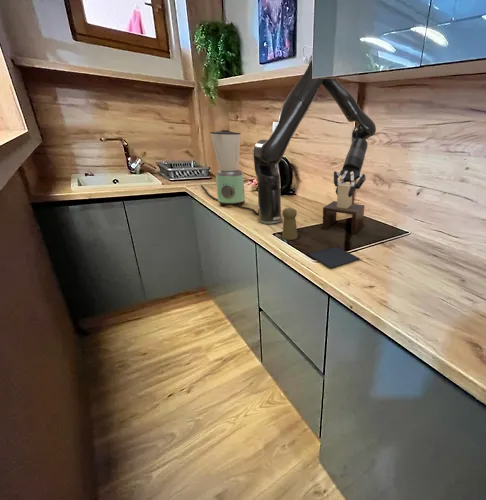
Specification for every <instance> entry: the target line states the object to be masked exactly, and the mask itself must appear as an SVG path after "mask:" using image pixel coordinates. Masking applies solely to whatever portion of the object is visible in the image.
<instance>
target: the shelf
mask: <svg viewBox="0 0 486 500" xmlns="http://www.w3.org/2000/svg"><path fill="white" fill-rule="evenodd" d="M337 213H338V214H346V215H351V224H350V225H351V227H350V234H353V235H355V234H356V233H357V232H359V230H360V229H361V228H362V227H363V226H364V215H365V205H364V204H357V203H352V205H351V206H350V207H349V208H347V209H345V208H338V207H337V200H336V201H335V200H333V201H332V202H330V203H327V204H326V205H324V206H323V207H322V230H323V229H324V230H327V229H328V228H330V227H331V226H332V225H333V224H335V223H336V222H337V215H338V214H337Z"/></svg>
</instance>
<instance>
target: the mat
mask: <svg viewBox="0 0 486 500" xmlns="http://www.w3.org/2000/svg"><path fill="white" fill-rule="evenodd" d="M307 255H308V256H309V257H310V258H312V259H314V260H315V261H317V262H319V263H320V264H322V265H323V266H325V267H327V268H329V269H330V270H332V269H335V268H338V267H341V266H344V265H347V264H350V263H354V262H357V261H360V258H359V257H358V256H356V255H354V254H352V253H350V252H348V251H346V250H344V249H342V248H340V247H338V246H333V247H330V248H326V249H322V250H318V251H315V252H311V253H308V254H307Z"/></svg>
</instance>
